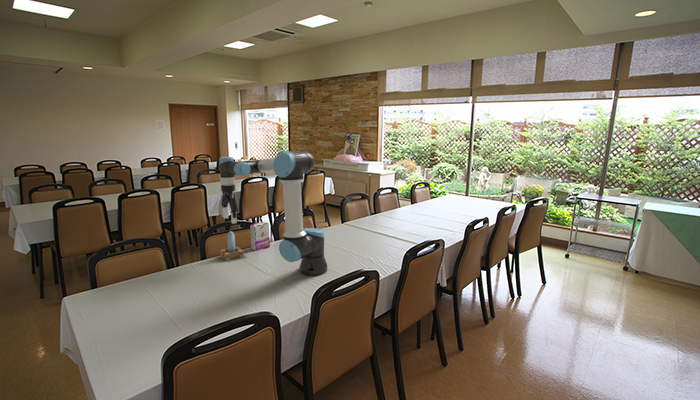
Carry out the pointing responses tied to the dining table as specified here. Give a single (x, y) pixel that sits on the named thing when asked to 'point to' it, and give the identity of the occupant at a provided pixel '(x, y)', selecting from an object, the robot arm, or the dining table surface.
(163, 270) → the dining table surface
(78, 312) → the dining table surface
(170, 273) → the dining table surface
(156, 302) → the dining table surface
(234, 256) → the wooden square frame
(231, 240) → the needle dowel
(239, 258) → the mat
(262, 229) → the candy bar box
